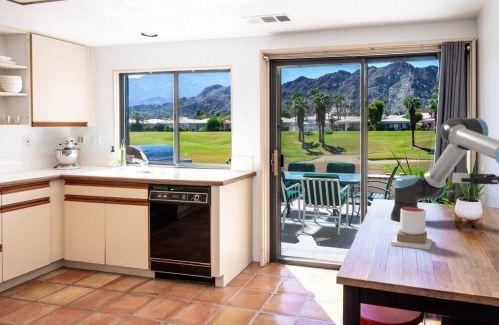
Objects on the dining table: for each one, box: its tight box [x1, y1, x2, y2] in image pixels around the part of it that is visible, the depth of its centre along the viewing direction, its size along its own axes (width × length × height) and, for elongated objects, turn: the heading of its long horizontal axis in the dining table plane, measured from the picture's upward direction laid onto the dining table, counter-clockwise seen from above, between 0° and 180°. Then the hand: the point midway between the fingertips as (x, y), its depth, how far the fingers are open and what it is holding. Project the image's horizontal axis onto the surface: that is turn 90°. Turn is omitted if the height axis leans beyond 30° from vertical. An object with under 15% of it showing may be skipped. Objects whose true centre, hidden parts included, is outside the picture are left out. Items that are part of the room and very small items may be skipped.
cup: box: [399, 207, 427, 235], centre depth 187 cm, size 10×10×10 cm
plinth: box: [390, 229, 433, 251], centre depth 188 cm, size 15×15×4 cm
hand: (452, 177), depth 187 cm, fingers open, 13 cm apart
